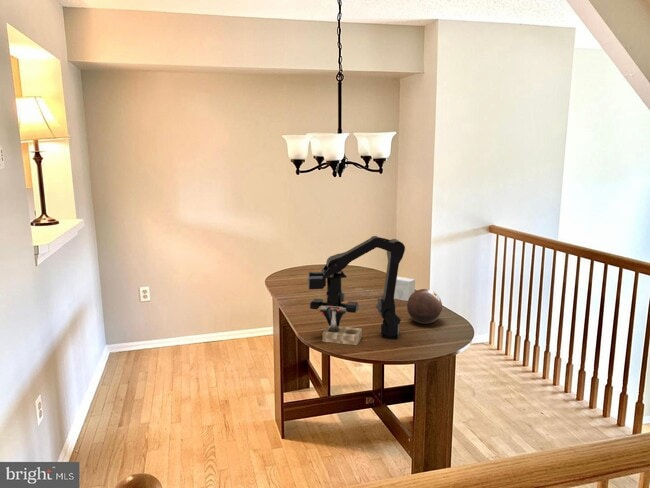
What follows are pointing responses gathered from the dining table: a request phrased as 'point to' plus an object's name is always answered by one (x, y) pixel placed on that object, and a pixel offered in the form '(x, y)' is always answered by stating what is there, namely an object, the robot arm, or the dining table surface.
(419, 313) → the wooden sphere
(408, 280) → the skincare box
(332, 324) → the metal pin
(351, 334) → the pin block
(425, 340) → the dining table surface
